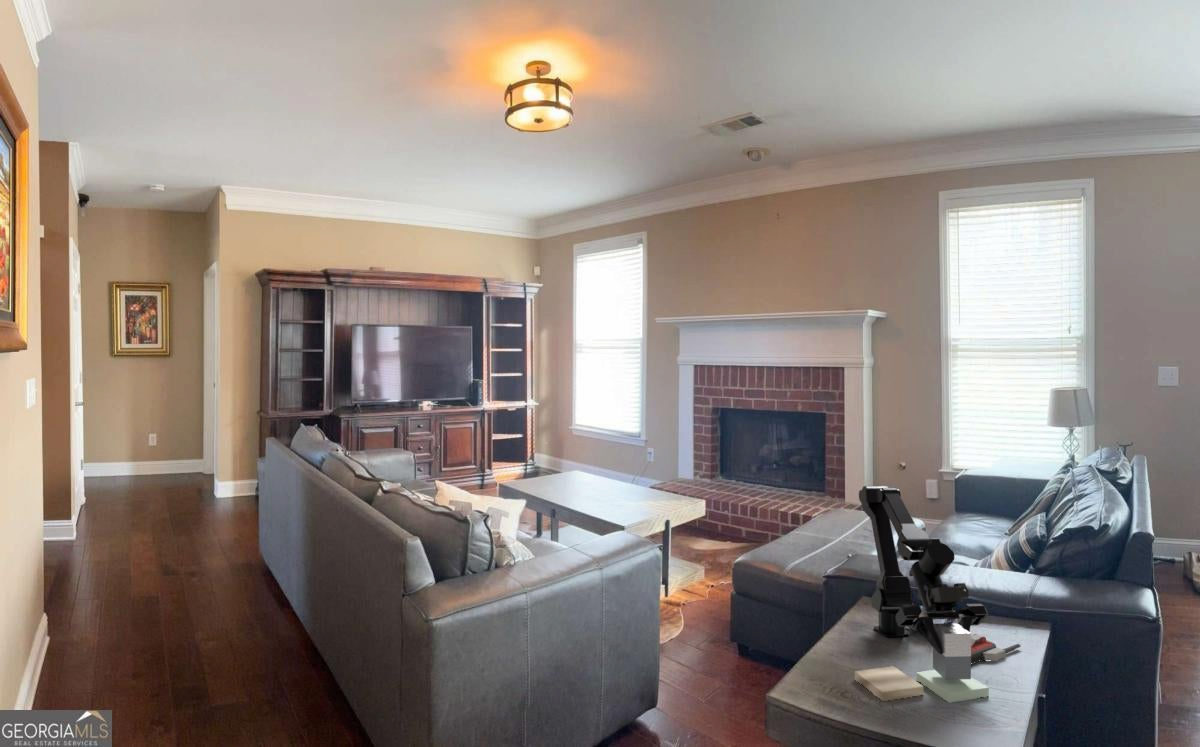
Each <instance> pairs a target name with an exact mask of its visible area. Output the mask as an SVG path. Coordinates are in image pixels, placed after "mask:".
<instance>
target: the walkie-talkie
mask: <svg viewBox="0 0 1200 747" xmlns="http://www.w3.org/2000/svg"><path fill="white" fill-rule="evenodd" d="M1019 648H1022V647H1021V644H1020V643H1016V644H1013V645H1011V646H1008V647H1006V648H999V647H998V646H997V644H995V643H994V642H991V641H989V640H987V638H986V637H985V636H984V635H979V634H978V633H974V634H971V663H974V662H977V661H979V660H982V661H983V660H991V661H995V662H997V661H996V660H998V661H1000V660H1003V659H1002V658H1004V659H1006V654H1009V653H1011V652H1013V651H1015V650H1016V649H1019ZM999 659H1000V660H999ZM977 663H978V662H977ZM974 664H975V663H974Z"/></svg>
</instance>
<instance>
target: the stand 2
mask: <svg viewBox="0 0 1200 747" xmlns="http://www.w3.org/2000/svg"><path fill="white" fill-rule="evenodd" d="M915 673H916V680H917V681H919V682H921V683H922V684H924V685H925V686H927V687H928V688H930V689H931V690H932V691H934V692H935V693H936V694H938V695H939V696H941V697H942V698H943V699H942V698H941V697H940V698H941V699H942V700H944V701H945V700H946V701H945V702H946V703H948V704H950V703H956V702H957V703H958V702H963V701H970V700H976V699H977V698H978V699H981V698H980V697H984V698H988V697H987V696H989V697H990V695H989V694H990V693H989V690H990V689H989V686H987V685H985V684H984V683H982V682H980V681H978V680H977V679H975V678H974V677H972V676H971V679H952V680H945V679H944V678H943V677H942V676H941V675H940V674H939V673H938V672H937V671H936V670H935V669H930V670H923V671H917V672H915ZM916 680H915V681H916ZM917 681H916V682H917ZM919 682H918V683H919ZM922 684H921V685H922ZM932 691H931V692H932ZM935 693H934V694H935ZM936 694H935V695H936ZM938 695H937V696H938ZM939 696H938V697H939Z"/></svg>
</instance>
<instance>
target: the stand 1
mask: <svg viewBox="0 0 1200 747" xmlns="http://www.w3.org/2000/svg"><path fill="white" fill-rule="evenodd" d="M855 680H856V682H857V681H858V682H859V683H860V684H859V683H858V682H857V683H858V684H859V685H861V684H862V685H863V686H864V687H865V689H866V688H867V689H868V690H869V691H868V690H867V689H866V690H867V691H868V692H870V691H871V692H872V693H873V694H872V693H871V692H870V693H871V694H872V695H874V696H875V697H876V696H877V697H878V698H877V697H876V698H877V699H879V698H880V699H881V700H882V701H881V700H880V699H879V700H880V701H881V702H889V701H888V700H890V701H896V700H895V699H897V700H902V699H901V698H904V699H908V698H907V697H910V698H913V697H912V696H917V697H919V696H918V695H923V696H924V686H923V685H922V684H920V683H919V682H917V681H916V680H915V679H913V678H912V677H910V676H909V675H907V674H906V673H904V672H903V671H901V670H899V669H898V668H896V667H895V666H894V665H891V666H885V667H877V668H871V669H870V668H869V669H862V670H855V671H854V681H855ZM862 685H861V686H862ZM863 686H862V687H863ZM864 687H863V688H864Z"/></svg>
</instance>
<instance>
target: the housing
mask: <svg viewBox="0 0 1200 747" xmlns="http://www.w3.org/2000/svg"><path fill="white" fill-rule="evenodd" d="M933 625H934V629H935V631H936V634H937V636H938V639H939V641H940V644H941V647H942V651H943V653H942V654H939V653H938V652H937V651H936V650H935V649H934V647H933V646H932V668H933V670H936V671H937V672H938V673H939V674H940V675H941V676H942V677H943V678H944V679H945V680H952V679H971V677H972V664H971V635H972V633H971V631H970V632H968V631H967V630H966V629H964V628H963V627H962V626H960V625H959V624H958V623H956V622H955V623H954V622H953V623H952V622H951V623H948V622H947V623H933Z"/></svg>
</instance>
